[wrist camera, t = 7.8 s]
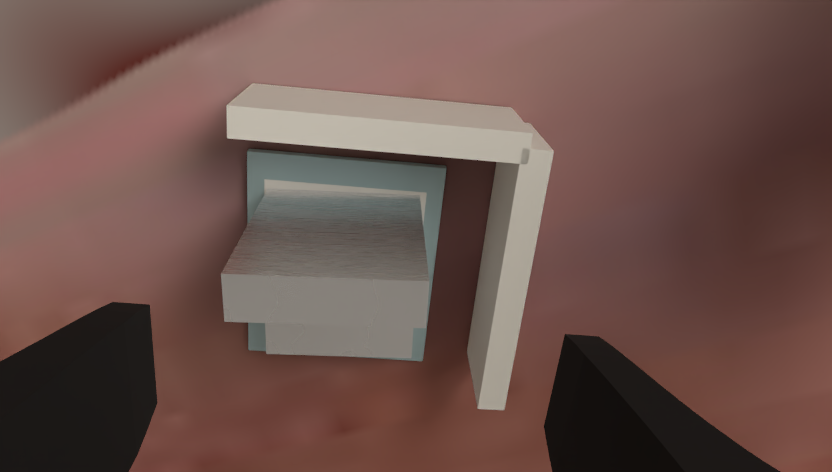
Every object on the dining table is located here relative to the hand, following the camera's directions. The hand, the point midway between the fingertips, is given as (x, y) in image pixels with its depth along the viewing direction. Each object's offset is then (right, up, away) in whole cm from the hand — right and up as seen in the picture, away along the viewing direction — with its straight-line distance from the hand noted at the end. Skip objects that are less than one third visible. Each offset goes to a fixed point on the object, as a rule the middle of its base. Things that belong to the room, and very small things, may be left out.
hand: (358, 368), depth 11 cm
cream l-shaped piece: (0, +2, +9) cm, 9 cm away
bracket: (-1, +1, +9) cm, 9 cm away
